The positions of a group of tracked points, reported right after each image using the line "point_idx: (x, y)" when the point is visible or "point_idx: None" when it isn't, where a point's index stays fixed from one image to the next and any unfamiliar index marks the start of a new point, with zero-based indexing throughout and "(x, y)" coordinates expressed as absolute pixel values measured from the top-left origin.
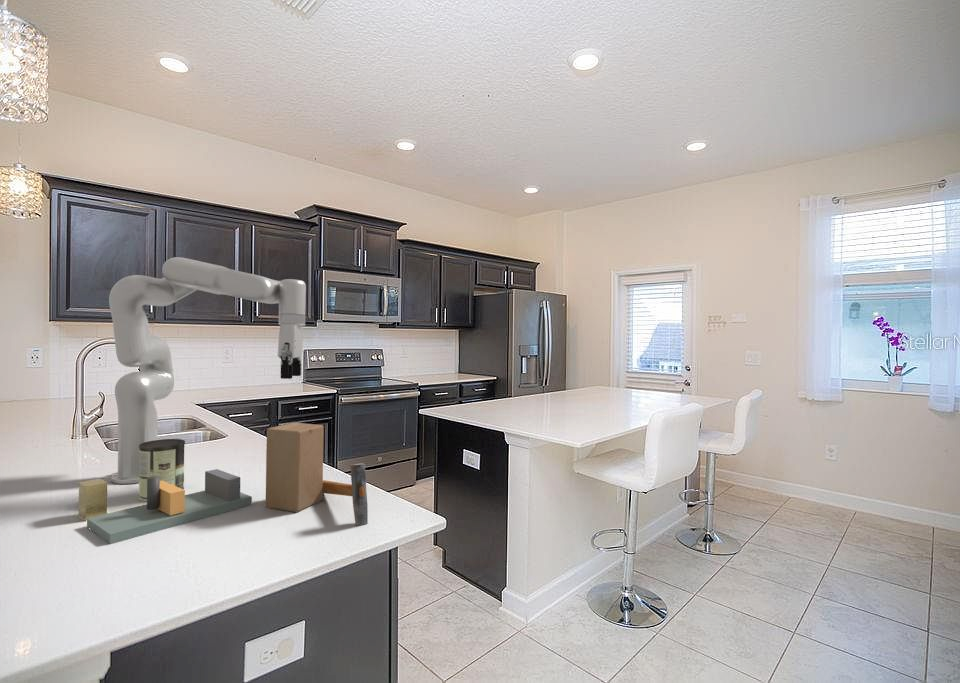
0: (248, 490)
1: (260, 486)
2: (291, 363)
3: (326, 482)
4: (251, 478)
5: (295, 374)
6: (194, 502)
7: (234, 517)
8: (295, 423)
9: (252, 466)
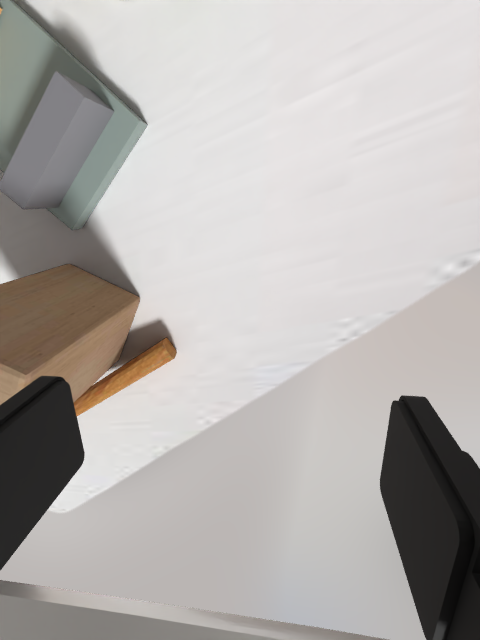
0: (172, 182)
1: (205, 201)
2: (470, 547)
3: (107, 382)
4: (279, 145)
5: (387, 456)
6: (16, 107)
7: (13, 221)
8: (3, 387)
9: (429, 86)
